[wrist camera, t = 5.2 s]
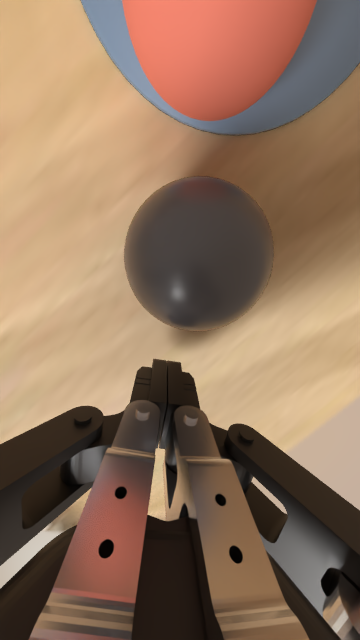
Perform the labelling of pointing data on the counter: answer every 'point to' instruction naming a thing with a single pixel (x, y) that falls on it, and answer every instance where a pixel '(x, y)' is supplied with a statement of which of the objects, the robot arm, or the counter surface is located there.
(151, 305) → the dark gray ball
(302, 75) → the blue-grey flat disc
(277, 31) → the red ball
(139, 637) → the robot arm
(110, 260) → the counter surface
